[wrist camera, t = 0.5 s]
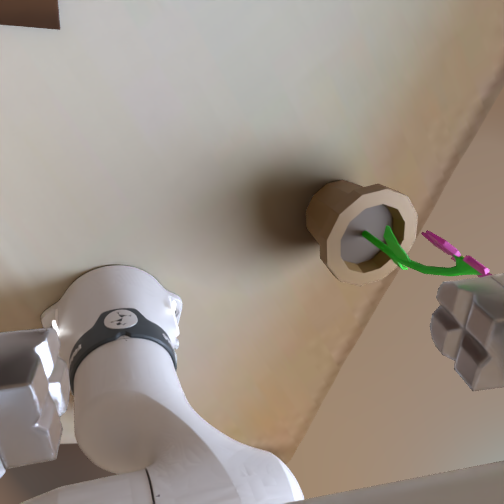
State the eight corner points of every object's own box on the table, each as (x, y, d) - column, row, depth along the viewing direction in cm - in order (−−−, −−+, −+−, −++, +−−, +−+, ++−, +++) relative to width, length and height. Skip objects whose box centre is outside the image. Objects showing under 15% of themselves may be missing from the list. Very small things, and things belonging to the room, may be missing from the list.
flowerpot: (391, 197, 71) (567, 295, 46) (335, 267, 73) (473, 397, 48) (334, 147, 63) (507, 232, 38) (274, 228, 66) (399, 357, 41)
